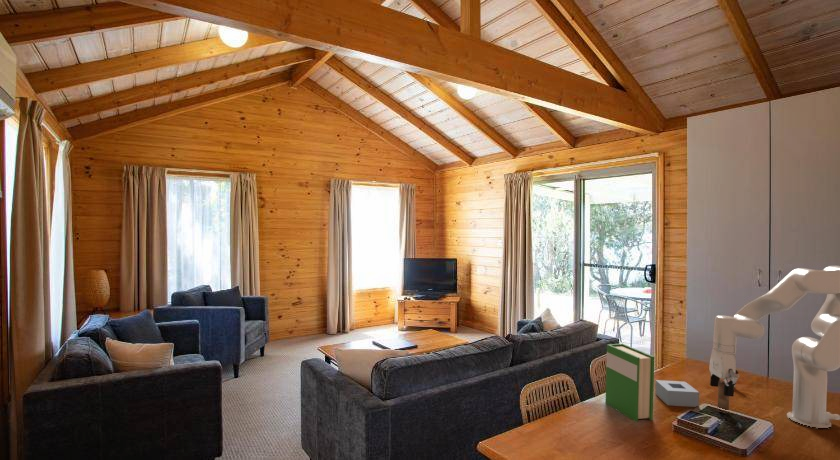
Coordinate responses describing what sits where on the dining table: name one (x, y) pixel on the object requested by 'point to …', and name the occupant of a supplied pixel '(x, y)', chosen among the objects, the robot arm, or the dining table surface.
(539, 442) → the dining table surface
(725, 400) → the peg
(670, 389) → the socket block
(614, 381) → the hardback book
